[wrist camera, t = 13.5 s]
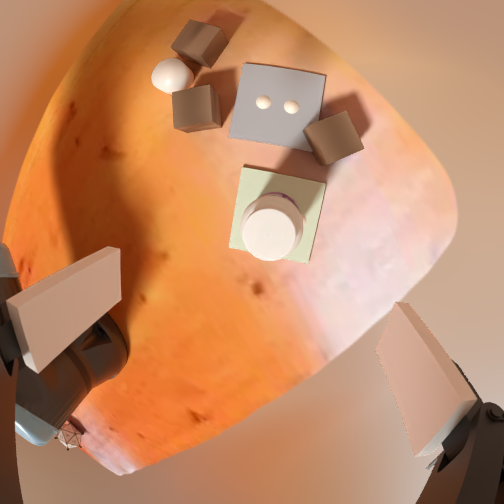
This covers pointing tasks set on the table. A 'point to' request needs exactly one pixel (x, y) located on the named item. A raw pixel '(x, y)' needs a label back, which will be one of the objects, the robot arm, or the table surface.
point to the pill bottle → (271, 226)
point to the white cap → (172, 76)
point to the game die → (69, 436)
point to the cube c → (333, 138)
